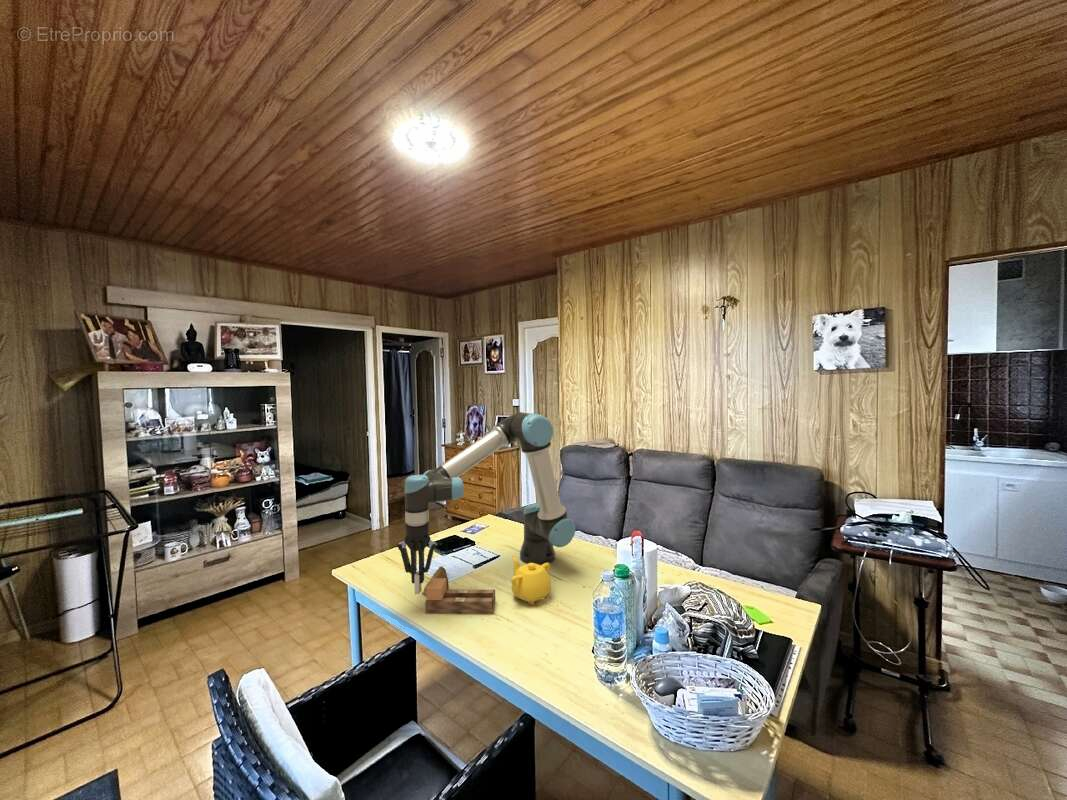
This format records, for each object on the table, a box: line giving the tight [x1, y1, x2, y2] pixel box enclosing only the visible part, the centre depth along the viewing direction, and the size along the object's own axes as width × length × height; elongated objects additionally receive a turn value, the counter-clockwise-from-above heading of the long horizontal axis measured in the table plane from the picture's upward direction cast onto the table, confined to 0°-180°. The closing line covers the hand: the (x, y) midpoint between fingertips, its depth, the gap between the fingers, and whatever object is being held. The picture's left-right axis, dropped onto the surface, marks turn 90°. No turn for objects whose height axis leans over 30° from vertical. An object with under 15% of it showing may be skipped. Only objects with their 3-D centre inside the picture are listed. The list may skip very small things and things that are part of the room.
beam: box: [424, 588, 496, 615], centre depth 140 cm, size 22×9×4 cm, turn 90°
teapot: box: [510, 556, 552, 606], centre depth 147 cm, size 14×14×12 cm
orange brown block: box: [426, 577, 446, 600], centre depth 139 cm, size 5×7×7 cm
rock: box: [421, 565, 450, 597], centre depth 146 cm, size 11×9×10 cm
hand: (418, 592), depth 139 cm, fingers closed
